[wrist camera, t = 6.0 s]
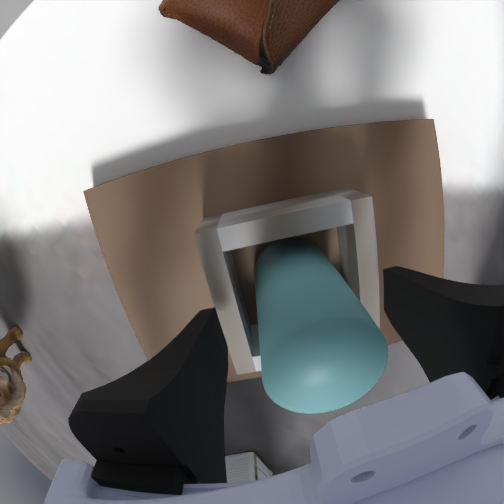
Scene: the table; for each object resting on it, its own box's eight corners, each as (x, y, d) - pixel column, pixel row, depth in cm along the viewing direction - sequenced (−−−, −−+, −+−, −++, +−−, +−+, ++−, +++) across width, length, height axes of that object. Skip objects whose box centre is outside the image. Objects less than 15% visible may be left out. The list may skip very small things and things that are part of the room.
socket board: (422, 120, 14) (465, 116, 10) (430, 318, 19) (459, 349, 15) (93, 188, 15) (53, 200, 11) (166, 378, 20) (154, 420, 16)
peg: (323, 230, 15) (392, 302, 8) (330, 297, 16) (382, 397, 9) (247, 243, 15) (250, 331, 8) (260, 310, 17) (271, 422, 9)
